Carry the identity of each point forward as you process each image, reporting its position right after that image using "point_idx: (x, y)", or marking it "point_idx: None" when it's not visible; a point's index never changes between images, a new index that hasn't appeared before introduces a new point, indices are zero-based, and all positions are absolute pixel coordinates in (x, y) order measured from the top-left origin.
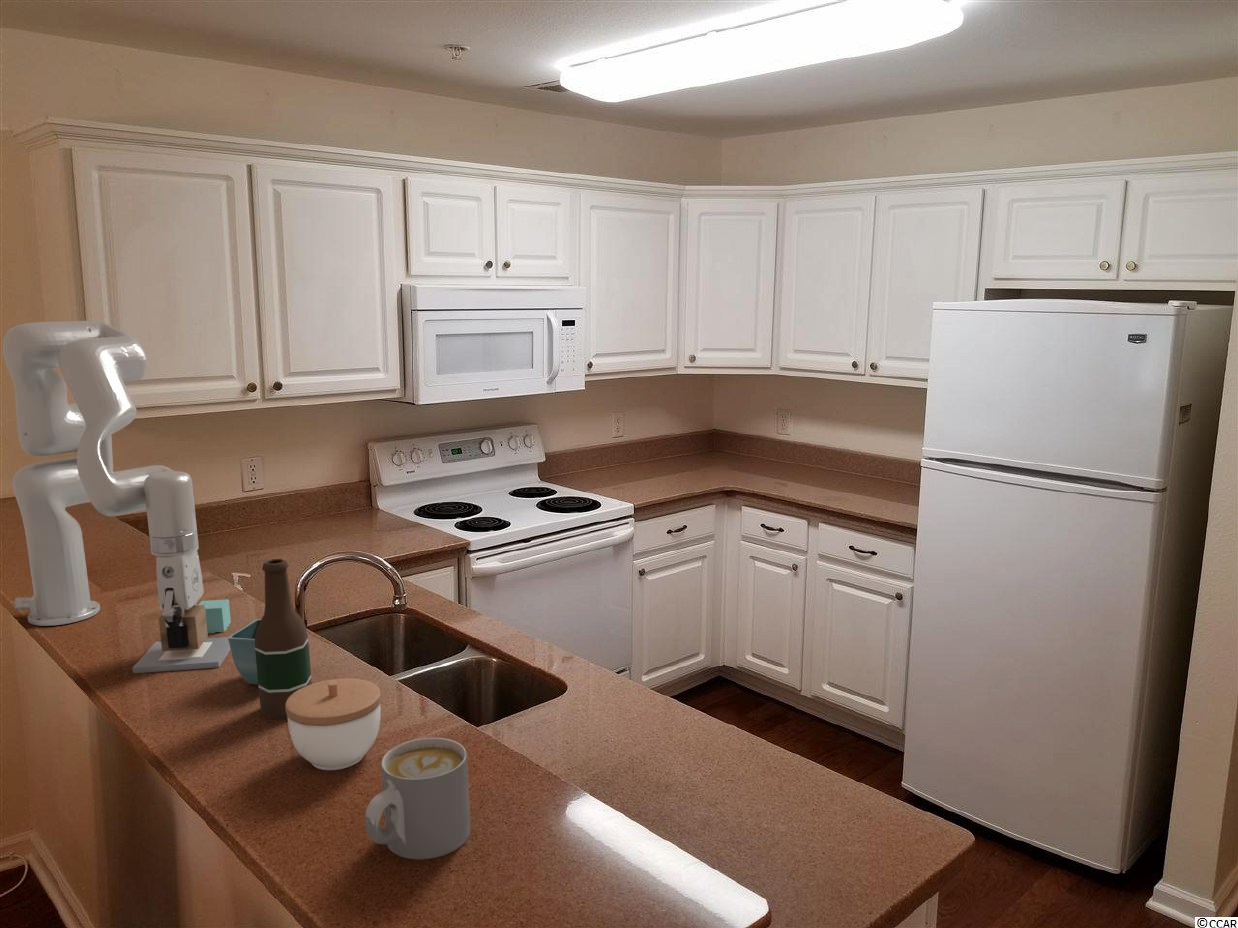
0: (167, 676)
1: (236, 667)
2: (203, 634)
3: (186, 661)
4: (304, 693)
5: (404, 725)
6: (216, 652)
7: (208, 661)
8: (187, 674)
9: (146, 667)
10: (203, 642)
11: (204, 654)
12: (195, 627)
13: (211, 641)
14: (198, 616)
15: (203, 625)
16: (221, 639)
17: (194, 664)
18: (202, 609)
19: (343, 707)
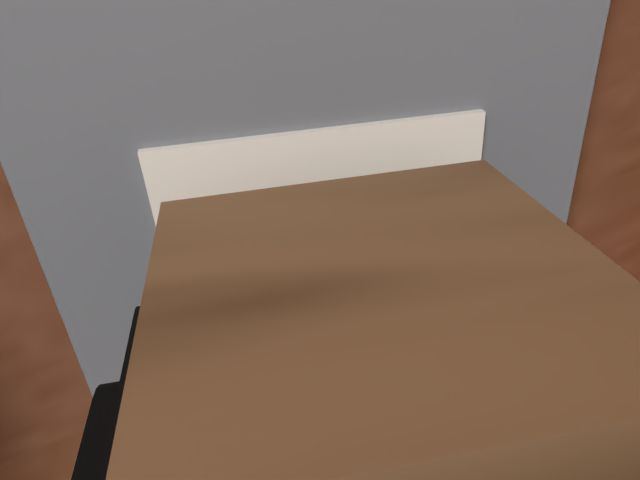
0: (618, 228)
1: None
2: (303, 216)
3: (527, 191)
4: None
5: None
6: (385, 14)
7: (585, 10)
8: (637, 119)
9: None
10: (156, 220)
11: (416, 109)
12: (626, 279)
13: (102, 169)
14: (544, 374)
15: (283, 271)
16: (38, 92)
17: (584, 113)
18: (292, 456)
19: None
